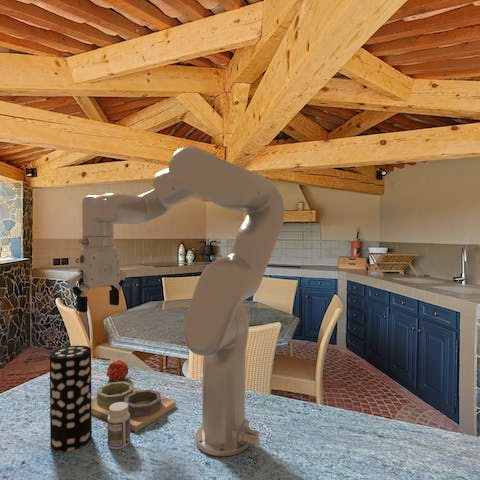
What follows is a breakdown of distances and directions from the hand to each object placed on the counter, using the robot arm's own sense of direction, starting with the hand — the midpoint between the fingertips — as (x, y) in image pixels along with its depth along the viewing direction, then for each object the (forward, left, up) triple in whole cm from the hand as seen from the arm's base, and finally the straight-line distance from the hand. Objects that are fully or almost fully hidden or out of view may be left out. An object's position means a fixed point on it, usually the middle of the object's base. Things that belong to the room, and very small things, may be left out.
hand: (99, 308), depth 95 cm
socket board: (-7, -3, -26) cm, 27 cm away
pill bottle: (-17, +9, -27) cm, 33 cm away
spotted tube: (-7, +13, -27) cm, 31 cm away
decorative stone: (+10, -14, -27) cm, 32 cm away
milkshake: (-24, -16, -27) cm, 39 cm away
